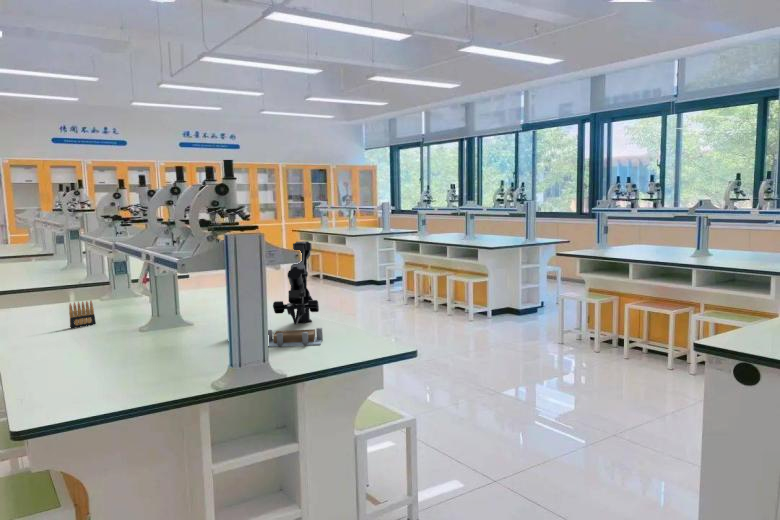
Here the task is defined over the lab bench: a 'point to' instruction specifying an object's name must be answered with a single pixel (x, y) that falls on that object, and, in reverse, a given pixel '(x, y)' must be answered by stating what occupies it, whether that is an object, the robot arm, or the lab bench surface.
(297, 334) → the shelf board
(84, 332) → the lab bench surface
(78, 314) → the ammunition clip
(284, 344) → the peg plate
